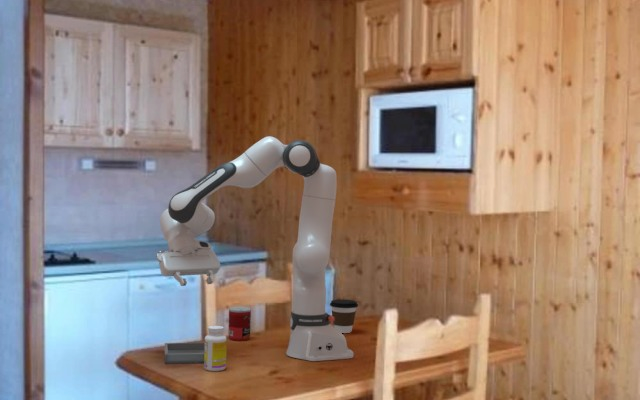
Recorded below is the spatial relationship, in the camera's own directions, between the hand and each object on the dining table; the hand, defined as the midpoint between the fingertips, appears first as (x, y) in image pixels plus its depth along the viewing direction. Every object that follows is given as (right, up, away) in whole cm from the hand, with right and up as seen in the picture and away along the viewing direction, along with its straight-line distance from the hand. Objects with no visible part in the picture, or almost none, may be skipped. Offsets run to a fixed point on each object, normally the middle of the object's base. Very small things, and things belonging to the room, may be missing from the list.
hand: (197, 283), depth 237 cm
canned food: (+10, -24, +34) cm, 42 cm away
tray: (-2, -24, +4) cm, 25 cm away
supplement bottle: (+7, -25, -9) cm, 28 cm away
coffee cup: (+48, -25, +50) cm, 74 cm away
